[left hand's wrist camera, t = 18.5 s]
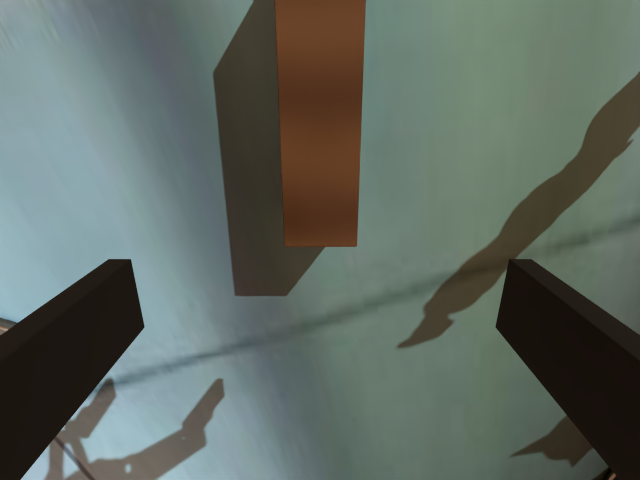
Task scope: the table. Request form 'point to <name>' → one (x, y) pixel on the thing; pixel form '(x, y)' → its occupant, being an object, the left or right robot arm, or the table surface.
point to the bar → (320, 118)
